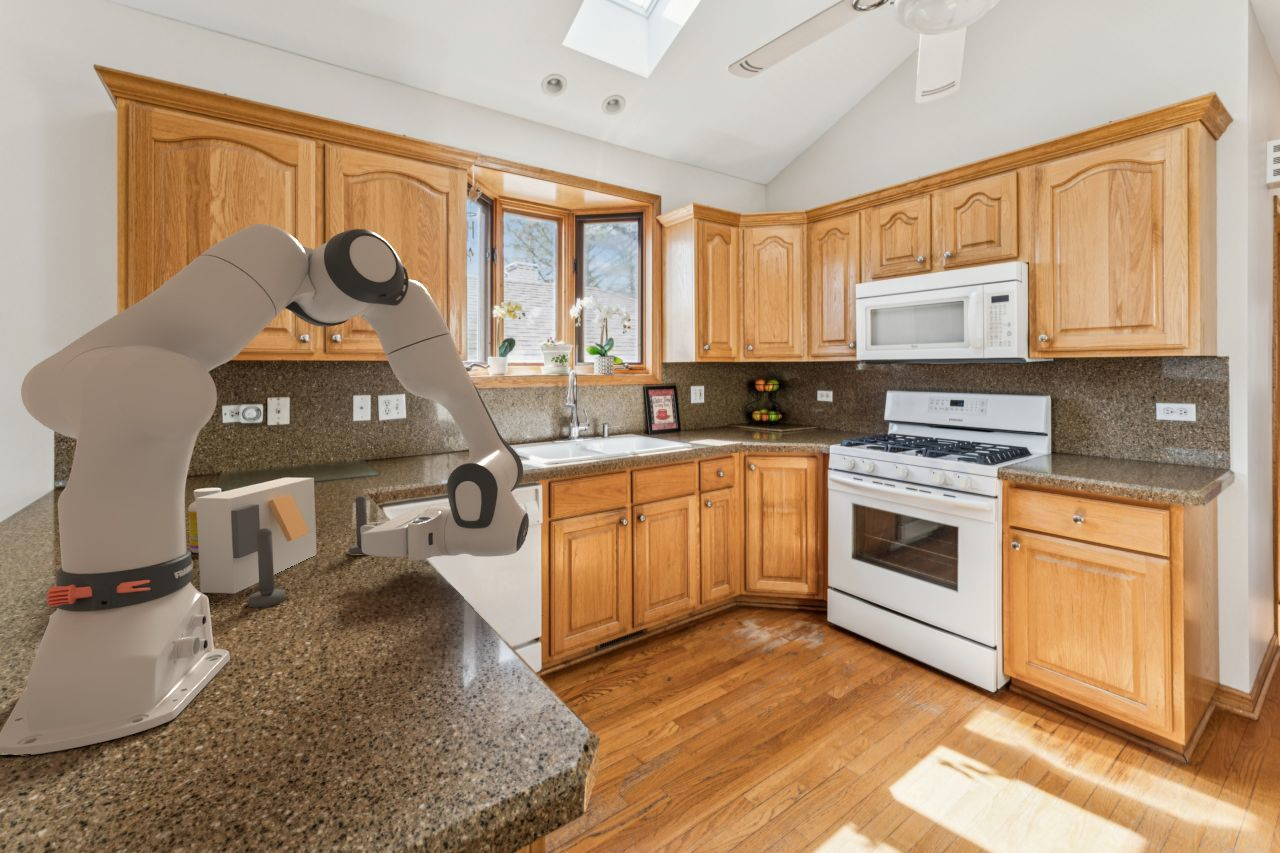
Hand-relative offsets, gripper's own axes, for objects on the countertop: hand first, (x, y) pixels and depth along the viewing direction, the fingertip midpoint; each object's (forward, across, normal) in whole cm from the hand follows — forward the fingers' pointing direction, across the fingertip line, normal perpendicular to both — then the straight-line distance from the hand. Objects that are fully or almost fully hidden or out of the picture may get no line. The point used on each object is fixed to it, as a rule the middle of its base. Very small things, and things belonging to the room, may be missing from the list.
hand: (364, 528), depth 107 cm
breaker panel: (+20, 0, +9) cm, 21 cm away
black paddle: (+16, +9, +3) cm, 18 cm away
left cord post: (+9, +14, +9) cm, 19 cm away
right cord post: (+9, -14, +9) cm, 19 cm away
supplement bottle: (+42, -13, +9) cm, 45 cm away
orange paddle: (+13, 0, +2) cm, 13 cm away
